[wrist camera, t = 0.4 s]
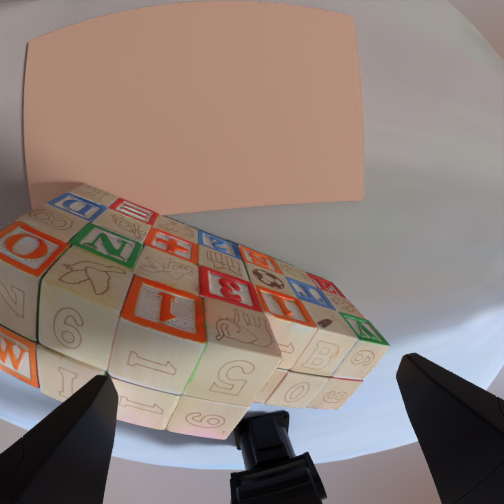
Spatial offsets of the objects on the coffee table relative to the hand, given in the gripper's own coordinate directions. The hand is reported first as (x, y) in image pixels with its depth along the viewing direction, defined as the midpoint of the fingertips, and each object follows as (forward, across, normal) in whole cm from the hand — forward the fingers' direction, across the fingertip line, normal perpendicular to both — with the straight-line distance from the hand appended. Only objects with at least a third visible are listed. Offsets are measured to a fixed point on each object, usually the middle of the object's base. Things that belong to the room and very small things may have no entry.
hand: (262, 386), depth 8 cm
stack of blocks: (+14, +3, +3) cm, 15 cm away
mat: (+15, +3, -10) cm, 18 cm away
